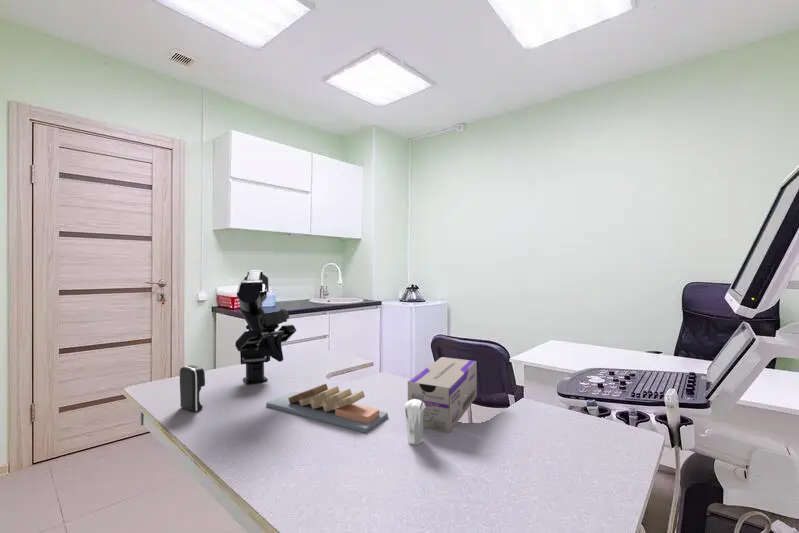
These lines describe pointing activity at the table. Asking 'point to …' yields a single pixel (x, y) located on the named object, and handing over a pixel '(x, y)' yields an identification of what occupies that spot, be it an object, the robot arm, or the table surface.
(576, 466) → the table surface
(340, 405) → the maple domino
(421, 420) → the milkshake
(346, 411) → the terracotta domino
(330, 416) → the slate board
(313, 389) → the walnut domino
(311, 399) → the maple domino
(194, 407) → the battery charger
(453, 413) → the surgical sutures box
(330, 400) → the maple domino
